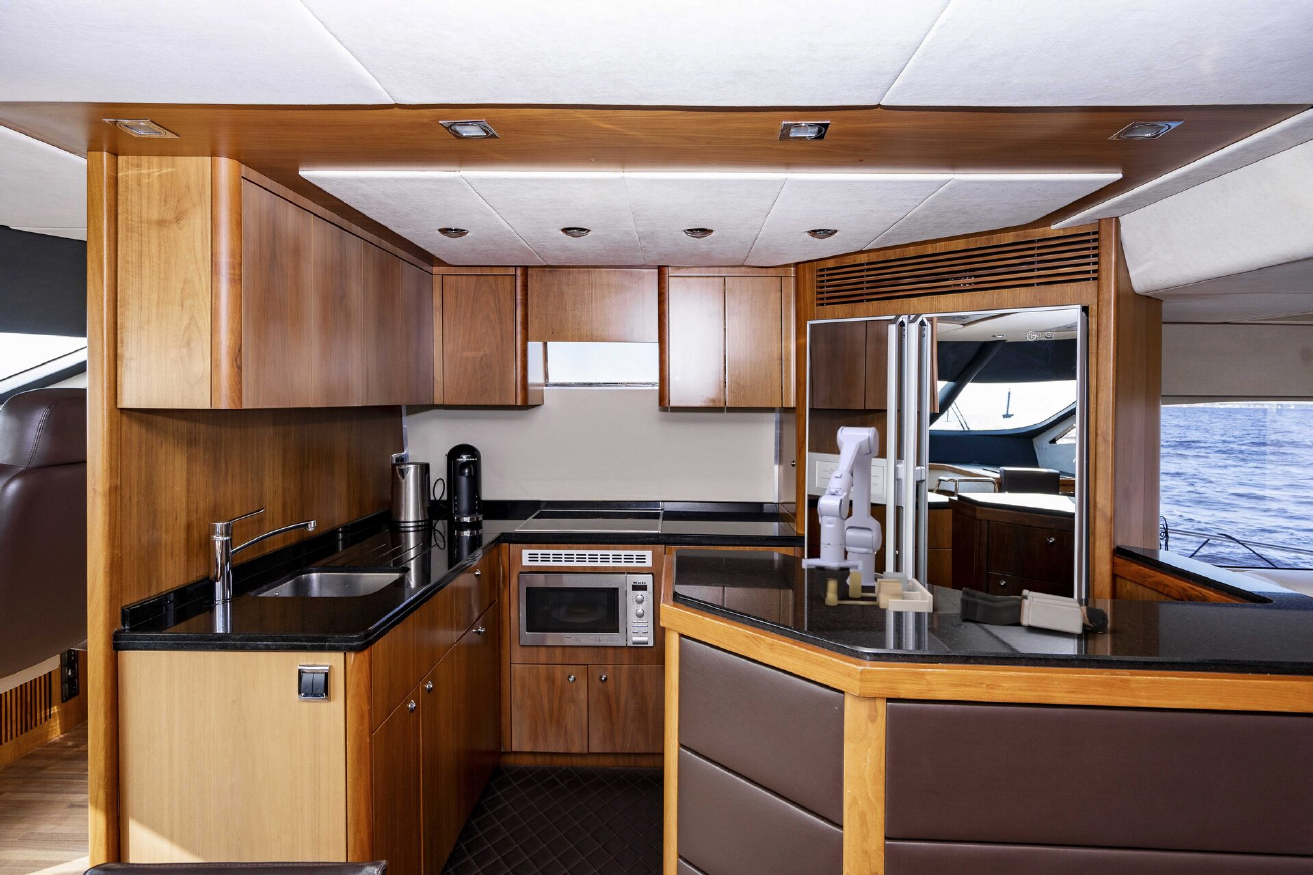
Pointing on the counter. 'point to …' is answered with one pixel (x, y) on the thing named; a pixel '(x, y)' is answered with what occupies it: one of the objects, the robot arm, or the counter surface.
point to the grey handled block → (856, 593)
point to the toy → (1032, 611)
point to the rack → (912, 599)
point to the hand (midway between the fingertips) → (831, 597)
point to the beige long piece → (884, 593)
